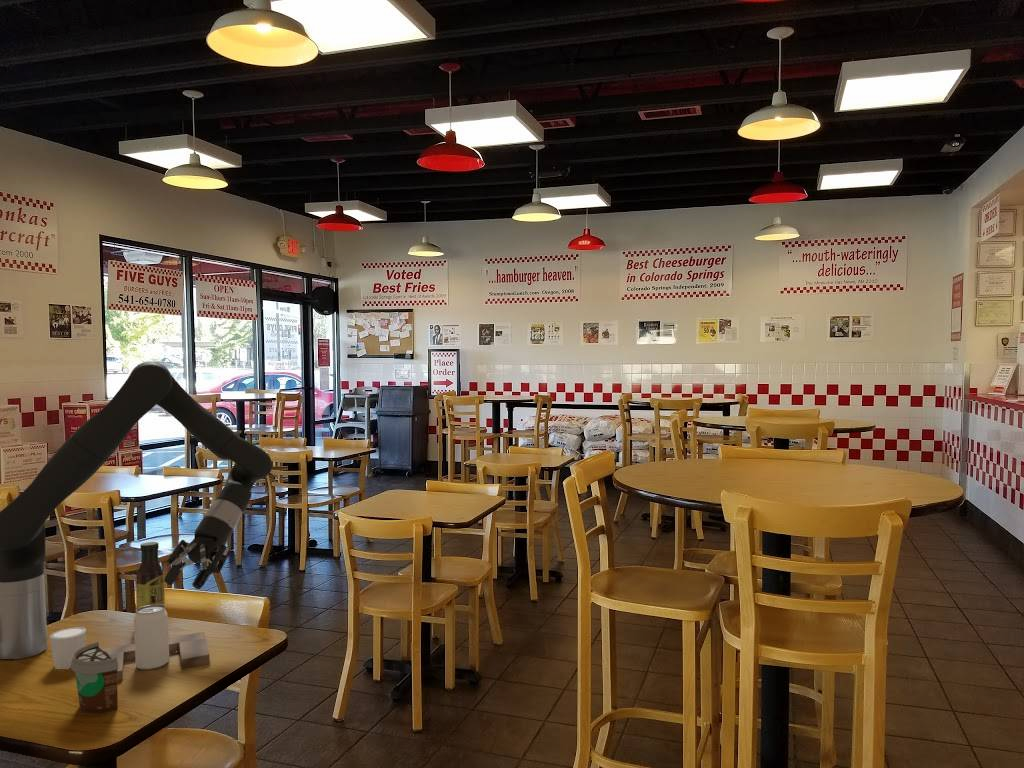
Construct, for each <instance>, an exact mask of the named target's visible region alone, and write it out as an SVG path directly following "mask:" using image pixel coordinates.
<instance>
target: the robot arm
mask: <svg viewBox="0 0 1024 768" xmlns="http://www.w3.org/2000/svg"><path fill="white" fill-rule="evenodd" d="M156 405H157V406H158V407H159V408H161V409H163V410H165V411H166V412H167V413H168V414H170V415H171V417H173V418H174V419H176V420H177V421H178V423H179V424H181V425H182V427H184V428H185V429H186V430H187V432H188V433H190V435H192V437H194V439H196V441H198V443H200V444H201V445H203V446H204V447H205V449H207V450H208V451H209V452H211V453H212V454H213V455H215V456H216V457H217V458H219V459H220V460H228V461H232V463H234V464H233V466H232V467H231V469H230V471H229V473H228V476H227V479H226V481H225V484H224V486H223V487H222V489H221V490H220V493H219V494H218V495H217V497H216V499H215V500H214V501H213V503H212V504H211V505H210V507H208V510H207V511H206V512H205V514H204V516H203V518H202V519H201V521H200V522H199V524H198V526H197V527H196V529H195V530H194V532H193V533H194V538H193V539H192V540H191V541H190V542H187V541H186V540H184V539H181V540H180V541H179V542H178V544H177V546H176V547H175V548H174V550H173V551H172V553H171V554H170V556H169V557H168V559H167V561H166V562H167V563H168V564H170V565H171V567H170V568H169V570H168V572H167V573H166V575H164V583H166V584H167V585H168V586H173V584H175V581H176V580H177V578H178V577H179V575H180V574H181V570H183V569H184V568H186V567H189V566H191V565H192V564H201V569H200V570H199V572H198V573H197V575H196V577H195V579H194V580H193V582H192V587H193V588H195V589H196V590H201V589H202V587H204V585H205V583H206V582H207V580H208V578H209V577H210V576H211V575H213V574H214V573H216V574H219V573H220V572H221V571H222V569H223V567H224V565H225V563H226V561H227V560H228V558H229V555H230V553H231V550H230V548H229V547H227V546H226V544H227V543H228V541H229V539H230V538H231V536H232V535H233V533H234V531H235V529H236V527H237V526H238V524H239V521H240V520H241V518H242V515H243V513H244V511H245V510H246V508H247V506H248V505H249V503H250V501H251V499H252V489H253V487H254V486H255V484H256V483H257V481H259V480H262V479H264V478H266V477H268V476H269V474H271V472H272V470H273V461H272V459H271V457H270V456H269V454H268V453H267V452H266V451H265V450H263V449H262V448H261V447H259V446H257V445H256V444H254V443H252V442H250V441H249V440H247V439H245V438H243V437H240V436H239V434H237V433H236V432H235V431H233V429H231V428H230V427H229V426H228V425H227V424H225V423H224V422H223V421H222V420H220V419H219V418H218V417H217V416H216V415H214V414H213V413H211V412H210V411H209V410H208V409H206V408H205V407H204V406H203V405H201V403H199V402H198V401H197V400H195V399H194V398H193V397H192V396H191V395H190V394H189V393H188V392H187V391H186V390H185V389H184V388H183V387H182V386H181V385H180V384H179V382H178V381H177V380H176V379H175V378H174V376H173V375H172V374H171V372H170V370H169V369H168V367H166V366H165V365H163V364H162V363H159V362H157V361H153V360H152V361H144V362H142V363H141V362H140V363H139V364H138V365H136V366H135V367H133V369H132V370H131V372H130V373H129V376H128V378H127V379H126V380H125V382H124V383H123V384H122V385H121V387H120V388H119V390H118V391H117V392H116V394H115V395H114V396H113V397H112V399H111V400H110V401H109V402H108V403H107V404H106V405H105V406H104V407H103V408H101V409H100V410H98V412H96V413H95V414H94V415H92V416H91V417H90V418H89V419H87V420H86V421H85V422H84V423H83V424H82V425H81V426H79V427H78V428H77V429H76V430H75V431H74V432H73V433H72V434H71V435H70V436H69V438H67V439H66V440H65V442H64V443H63V444H62V445H61V446H60V447H59V448H58V449H57V450H56V452H55V453H54V454H53V455H52V456H51V457H50V459H49V460H48V461H47V463H46V464H45V465H44V466H43V468H42V469H41V470H40V471H39V473H38V474H37V475H36V477H35V478H34V479H33V480H32V482H31V483H30V484H29V485H28V487H26V488H25V489H24V490H23V491H22V492H21V493H20V494H19V495H18V496H17V497H16V498H14V499H13V500H12V501H11V502H10V503H9V504H7V505H6V506H5V507H4V508H3V509H1V510H0V659H2V660H3V659H14V660H20V659H24V658H25V659H26V658H29V657H33V656H36V655H39V654H41V653H43V652H44V651H45V650H47V648H48V633H47V631H48V630H47V629H48V627H47V609H46V608H47V605H46V588H45V587H46V585H45V560H46V524H45V522H46V521H47V520H48V518H49V517H50V516H51V515H52V513H53V512H54V511H56V509H57V507H58V506H60V504H62V502H64V501H65V500H66V499H67V498H68V497H70V496H71V495H73V493H75V492H76V491H77V490H79V488H80V487H82V486H83V485H85V483H86V482H88V480H89V479H90V478H92V477H93V476H94V475H95V473H97V472H98V471H99V469H101V467H103V465H104V464H105V463H106V462H107V461H108V459H110V457H111V456H112V455H113V454H114V452H115V451H116V450H117V449H118V448H119V446H120V445H121V444H122V442H123V441H124V439H126V437H127V435H128V434H129V432H130V431H131V430H132V429H133V428H134V426H136V424H137V423H138V422H139V421H140V420H141V419H142V418H143V417H144V416H145V415H146V414H147V413H148V412H149V411H151V410H152V409H153V408H154V407H156ZM181 562H182V563H181Z"/></svg>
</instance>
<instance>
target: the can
mask: <svg viewBox="0 0 1024 768" xmlns="http://www.w3.org/2000/svg"><path fill="white" fill-rule="evenodd" d="M133 628H134V629H133V631H134V632H133V633H134V634H133V635H134V643H135V659H134V660H135V666H136V668H137V669H138V670H142V671H146V670H147V671H148V670H156V669H159V668H162V667H164V666H165V665H167V664H168V662H169V661H170V653H169V641H168V638H169V620H168V612H167V610H166V605H165V606H164V605H148V606H144V607H141V608H139V609H137V608H136V610H135V614H134V618H133Z"/></svg>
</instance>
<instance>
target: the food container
mask: <svg viewBox="0 0 1024 768" xmlns="http://www.w3.org/2000/svg"><path fill="white" fill-rule="evenodd" d="M101 649H102V648H101V647H100V644H99V641H95V642H93V643H90V644H88V645H85V647H83V648H81V649H79V650H78V651H76V652H75V654H74V657H73V658H72V662H71V669H70V670H72V671H73V672H74V674H75V681H76V689H77V696H78V702H79V710H80V711H81V712H84V713H87V714H100V713H101V714H102V713H106V712H112V711H114V710H118V707H119V706H118V700H119V699H118V697H119V696H118V681H117V669H118V661H117V658H113V659H112V658H111V657H110V656H109V655H108V653H107V652H105V651H103V650H101Z"/></svg>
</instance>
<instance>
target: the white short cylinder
mask: <svg viewBox="0 0 1024 768" xmlns="http://www.w3.org/2000/svg"><path fill="white" fill-rule="evenodd" d="M86 639H87V629H86V628H85V627H81V626H80V627H79V626H77V627H68V628H63V629H60V630H59V629H58V630H57V631H54V632H52V633H51V634H50V635H49V645H50V650H51V655H52V663H53V668H54V667H55V668H57V669H67V670H69V669H68V668H71V662H72V658H73V657H74V654H75V652H76V651H78V650H79V649H81V648H83V647H85V646H86V641H87V640H86ZM55 668H54V669H55Z"/></svg>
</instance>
